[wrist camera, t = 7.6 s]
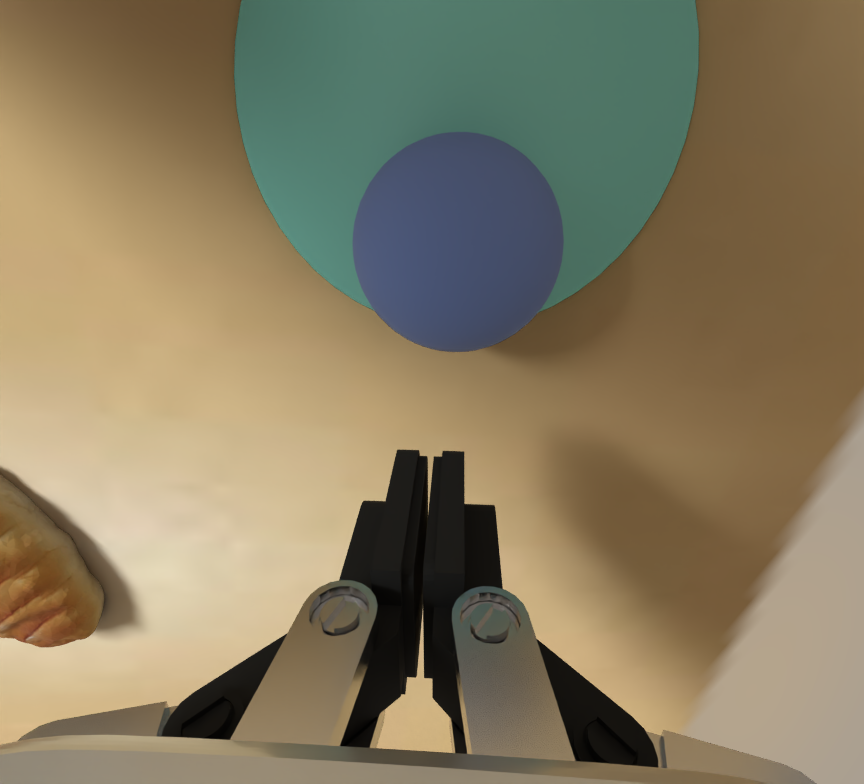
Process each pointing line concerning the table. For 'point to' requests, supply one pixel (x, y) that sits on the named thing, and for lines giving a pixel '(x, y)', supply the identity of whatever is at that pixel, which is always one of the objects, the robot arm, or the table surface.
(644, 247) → the table surface
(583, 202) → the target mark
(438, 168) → the ball
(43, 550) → the pastry
